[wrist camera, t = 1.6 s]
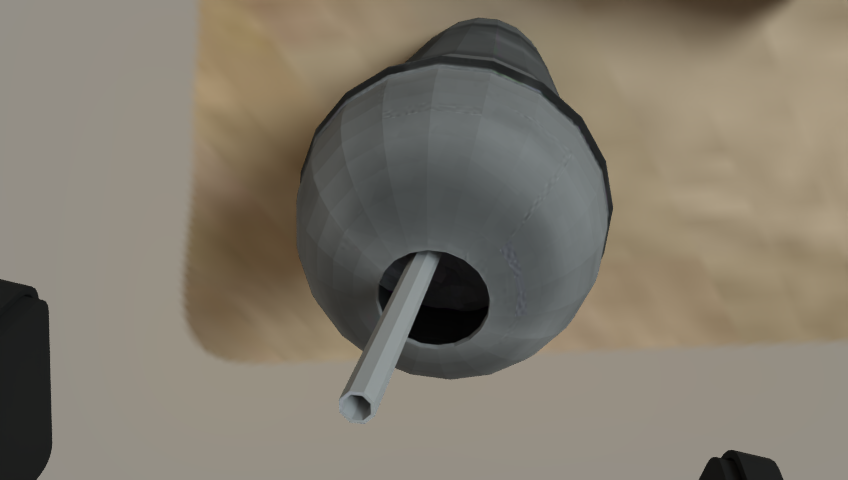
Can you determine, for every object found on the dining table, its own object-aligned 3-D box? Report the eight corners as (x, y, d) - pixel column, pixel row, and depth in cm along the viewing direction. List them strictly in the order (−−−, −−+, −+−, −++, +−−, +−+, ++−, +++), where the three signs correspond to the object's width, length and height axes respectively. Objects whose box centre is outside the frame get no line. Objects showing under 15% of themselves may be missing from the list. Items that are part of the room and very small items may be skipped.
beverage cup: (428, 198, 30) (283, 685, 13) (349, 23, 28) (27, 331, 10) (609, 137, 28) (736, 613, 11) (544, -59, 26) (570, 146, 8)
